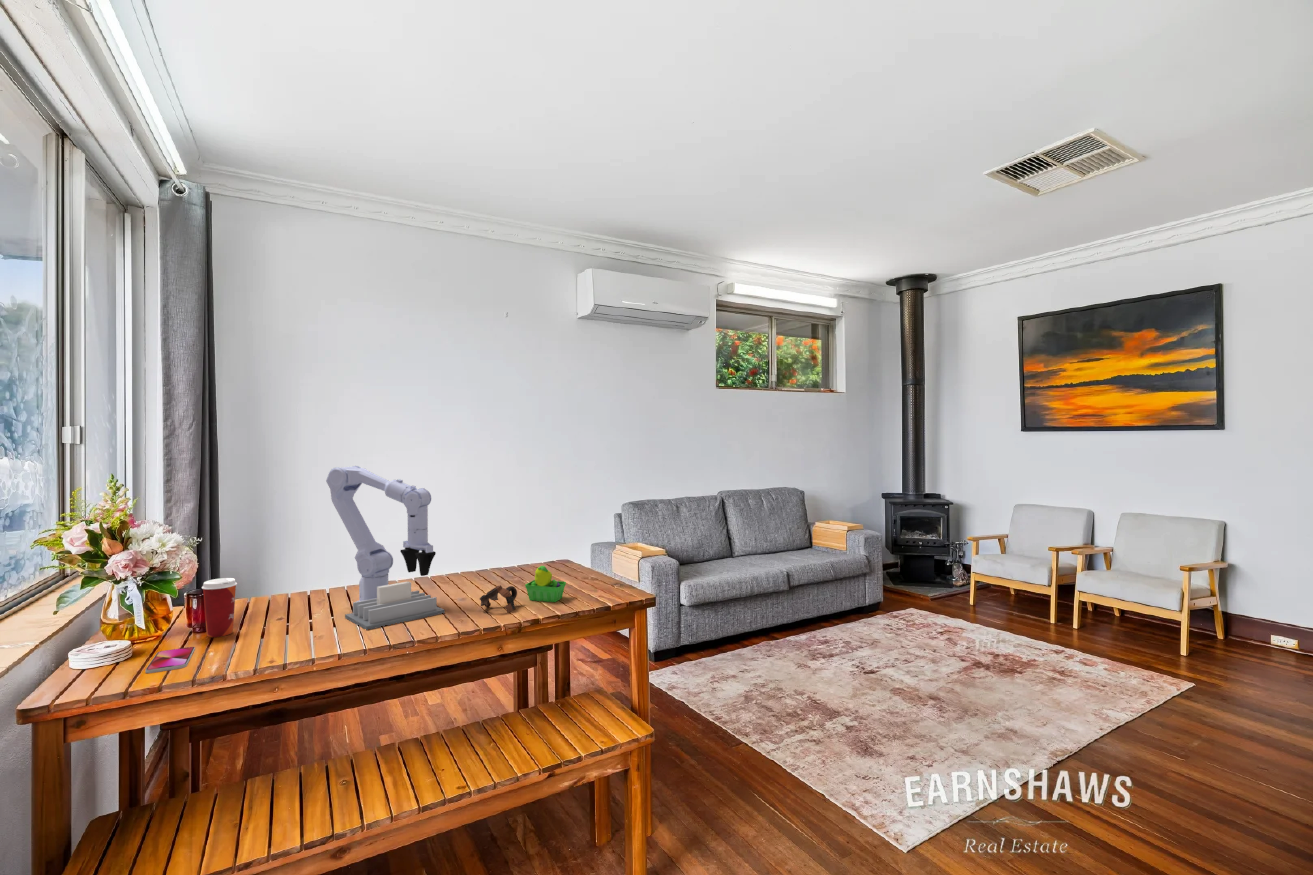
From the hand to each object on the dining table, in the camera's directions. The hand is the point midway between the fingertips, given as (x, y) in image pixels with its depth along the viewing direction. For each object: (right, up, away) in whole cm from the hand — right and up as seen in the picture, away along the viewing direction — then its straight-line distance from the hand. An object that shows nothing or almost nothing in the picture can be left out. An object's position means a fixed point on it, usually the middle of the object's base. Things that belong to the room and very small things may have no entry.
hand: (418, 573), depth 188 cm
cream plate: (-3, -9, -10) cm, 14 cm away
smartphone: (-40, -11, -45) cm, 61 cm away
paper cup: (-42, -10, -26) cm, 50 cm away
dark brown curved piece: (+26, -10, -4) cm, 28 cm away
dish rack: (-3, -10, -10) cm, 14 cm away
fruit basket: (+37, -10, +7) cm, 39 cm away
